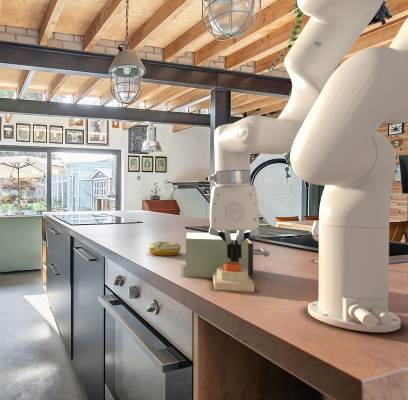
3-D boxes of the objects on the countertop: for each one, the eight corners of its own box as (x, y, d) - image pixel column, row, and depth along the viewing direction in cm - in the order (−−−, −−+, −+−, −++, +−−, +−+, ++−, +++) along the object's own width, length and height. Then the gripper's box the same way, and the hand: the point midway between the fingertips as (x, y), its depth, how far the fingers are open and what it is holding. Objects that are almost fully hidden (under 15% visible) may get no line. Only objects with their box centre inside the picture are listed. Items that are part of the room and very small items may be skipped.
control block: (254, 292, 74) (254, 275, 74) (214, 289, 76) (214, 273, 76) (247, 280, 84) (247, 265, 84) (212, 278, 86) (212, 264, 86)
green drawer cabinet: (241, 268, 97) (241, 233, 97) (248, 279, 85) (248, 239, 84) (186, 266, 100) (186, 232, 100) (186, 276, 88) (185, 238, 88)
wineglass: (338, 264, 101) (338, 222, 101) (316, 263, 102) (316, 222, 102) (329, 260, 107) (330, 220, 106) (308, 259, 108) (309, 220, 107)
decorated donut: (143, 252, 123) (143, 241, 123) (170, 250, 127) (170, 240, 127) (157, 257, 114) (157, 245, 113) (186, 255, 117) (186, 243, 117)
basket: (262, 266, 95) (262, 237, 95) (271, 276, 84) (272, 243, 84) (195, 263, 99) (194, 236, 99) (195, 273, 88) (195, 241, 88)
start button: (241, 273, 78) (241, 265, 78) (224, 272, 79) (224, 264, 79) (239, 269, 81) (239, 262, 81) (222, 269, 82) (222, 261, 82)
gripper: (198, 180, 77) (200, 263, 77) (272, 177, 74) (273, 265, 74) (198, 181, 85) (199, 257, 85) (264, 179, 81) (266, 259, 81)
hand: (234, 261), depth 79 cm, fingers closed
